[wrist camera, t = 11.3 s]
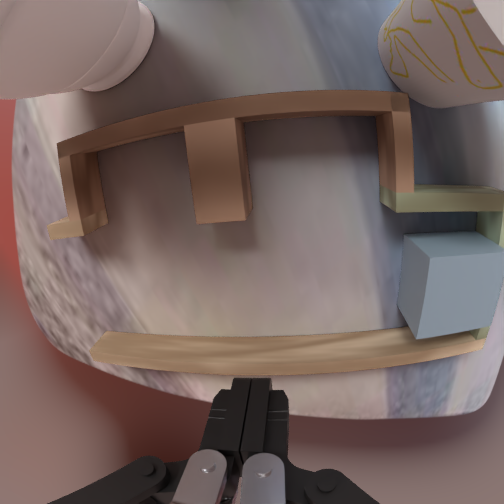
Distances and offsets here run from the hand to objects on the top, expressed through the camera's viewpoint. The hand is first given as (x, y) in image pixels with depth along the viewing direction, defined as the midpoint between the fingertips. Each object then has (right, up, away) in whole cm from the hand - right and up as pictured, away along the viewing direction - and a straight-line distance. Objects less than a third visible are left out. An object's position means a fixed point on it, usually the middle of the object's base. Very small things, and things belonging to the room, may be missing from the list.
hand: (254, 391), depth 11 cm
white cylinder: (+13, +20, +4) cm, 24 cm away
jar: (-11, +22, +6) cm, 26 cm away
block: (+15, +4, +9) cm, 18 cm away
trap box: (+2, +7, +10) cm, 12 cm away
